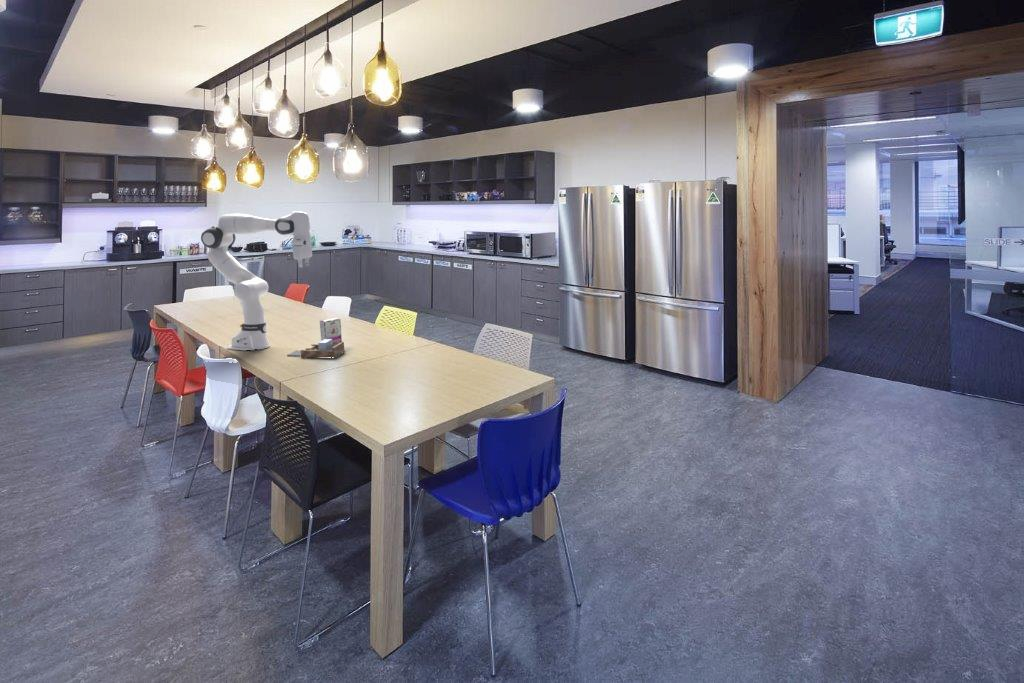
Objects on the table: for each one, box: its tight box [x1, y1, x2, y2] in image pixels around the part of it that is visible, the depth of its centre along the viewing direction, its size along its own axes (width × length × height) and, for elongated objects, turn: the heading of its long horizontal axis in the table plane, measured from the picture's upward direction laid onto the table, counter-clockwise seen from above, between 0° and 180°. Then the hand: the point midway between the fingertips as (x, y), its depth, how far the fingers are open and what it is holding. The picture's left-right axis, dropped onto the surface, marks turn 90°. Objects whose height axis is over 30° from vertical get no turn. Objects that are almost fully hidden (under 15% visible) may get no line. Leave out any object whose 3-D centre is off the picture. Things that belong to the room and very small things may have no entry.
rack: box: [300, 341, 345, 359], centre depth 320 cm, size 18×15×6 cm
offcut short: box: [304, 345, 315, 350], centre depth 321 cm, size 3×6×2 cm, turn 177°
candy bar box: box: [319, 317, 343, 345], centre depth 338 cm, size 11×5×16 cm, turn 143°
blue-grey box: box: [318, 339, 333, 351], centre depth 320 cm, size 4×10×8 cm, turn 176°
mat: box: [287, 349, 301, 357], centre depth 322 cm, size 7×11×1 cm, turn 176°
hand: (304, 266), depth 324 cm, fingers open, 8 cm apart
